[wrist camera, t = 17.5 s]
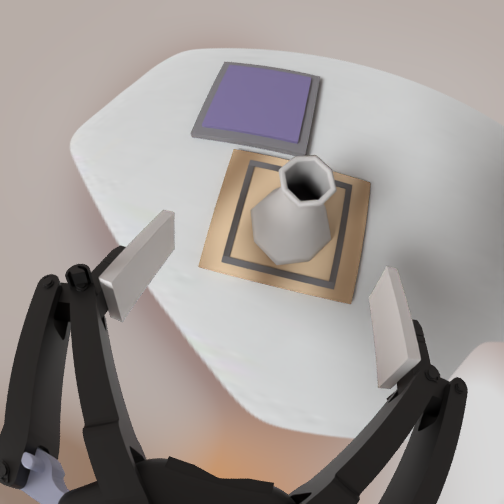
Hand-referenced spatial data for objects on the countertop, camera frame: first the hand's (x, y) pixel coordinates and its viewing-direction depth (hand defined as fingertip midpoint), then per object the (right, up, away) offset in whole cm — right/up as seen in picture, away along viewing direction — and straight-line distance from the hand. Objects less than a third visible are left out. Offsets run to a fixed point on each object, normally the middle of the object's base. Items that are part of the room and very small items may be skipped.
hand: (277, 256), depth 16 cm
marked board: (+2, +3, +9) cm, 10 cm away
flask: (+2, +3, +9) cm, 9 cm away
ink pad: (-1, +17, +11) cm, 20 cm away
